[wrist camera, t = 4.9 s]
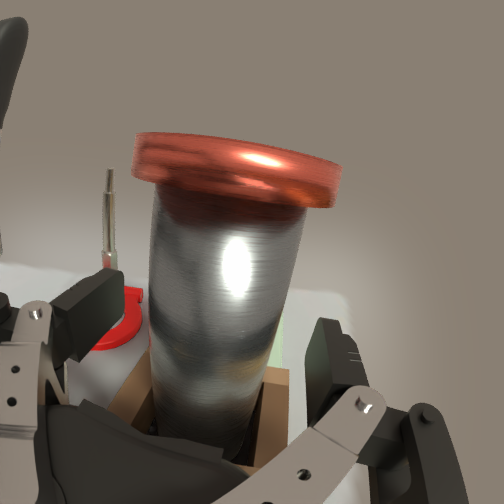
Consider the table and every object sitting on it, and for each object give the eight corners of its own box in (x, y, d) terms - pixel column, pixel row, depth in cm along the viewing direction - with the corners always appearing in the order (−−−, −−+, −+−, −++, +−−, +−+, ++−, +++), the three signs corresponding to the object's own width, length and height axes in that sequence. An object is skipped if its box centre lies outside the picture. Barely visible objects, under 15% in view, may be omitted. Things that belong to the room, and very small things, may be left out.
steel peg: (128, 458, 10) (90, 130, 5) (165, 384, 16) (181, 142, 12) (248, 491, 10) (372, 169, 5) (259, 408, 16) (325, 167, 11)
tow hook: (129, 363, 18) (152, 299, 26) (120, 190, 13) (158, 170, 22) (42, 341, 17) (81, 287, 25) (13, 185, 12) (75, 165, 20)
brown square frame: (101, 465, 9) (86, 440, 8) (156, 368, 18) (154, 337, 17) (268, 512, 9) (284, 497, 8) (278, 398, 17) (289, 369, 16)
